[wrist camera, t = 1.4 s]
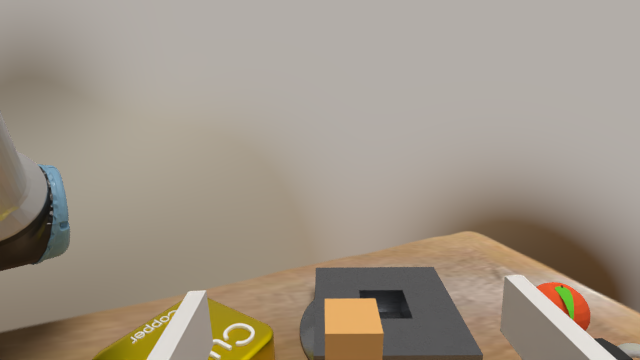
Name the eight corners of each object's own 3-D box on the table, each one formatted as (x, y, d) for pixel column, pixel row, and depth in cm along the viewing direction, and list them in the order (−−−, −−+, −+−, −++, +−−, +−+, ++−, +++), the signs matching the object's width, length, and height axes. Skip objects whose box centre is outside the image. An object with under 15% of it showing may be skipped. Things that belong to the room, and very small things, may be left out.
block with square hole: (294, 402, 38) (293, 370, 37) (304, 283, 59) (303, 261, 58) (505, 401, 38) (511, 369, 37) (440, 283, 59) (442, 260, 58)
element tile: (198, 316, 52) (194, 287, 51) (282, 358, 45) (280, 325, 43) (89, 392, 40) (80, 357, 39) (178, 467, 33) (171, 426, 31)
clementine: (598, 363, 43) (612, 312, 41) (533, 353, 45) (543, 303, 43) (571, 320, 50) (582, 274, 48) (516, 312, 52) (524, 268, 50)
